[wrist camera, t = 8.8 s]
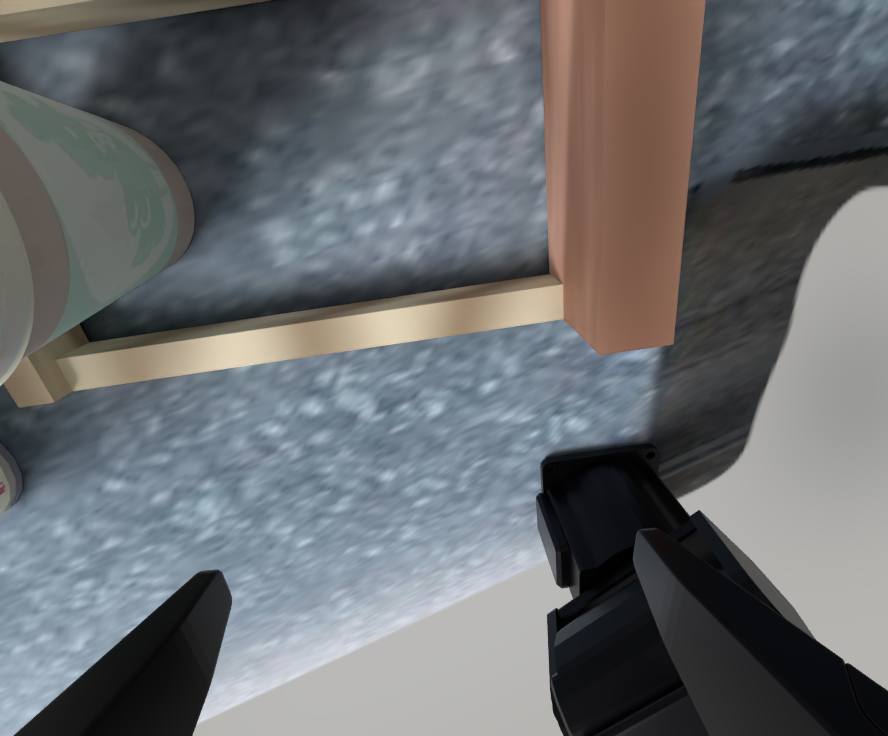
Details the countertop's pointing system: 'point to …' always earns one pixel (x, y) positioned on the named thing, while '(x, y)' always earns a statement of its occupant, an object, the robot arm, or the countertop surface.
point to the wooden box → (486, 305)
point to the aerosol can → (9, 480)
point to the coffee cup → (77, 218)
